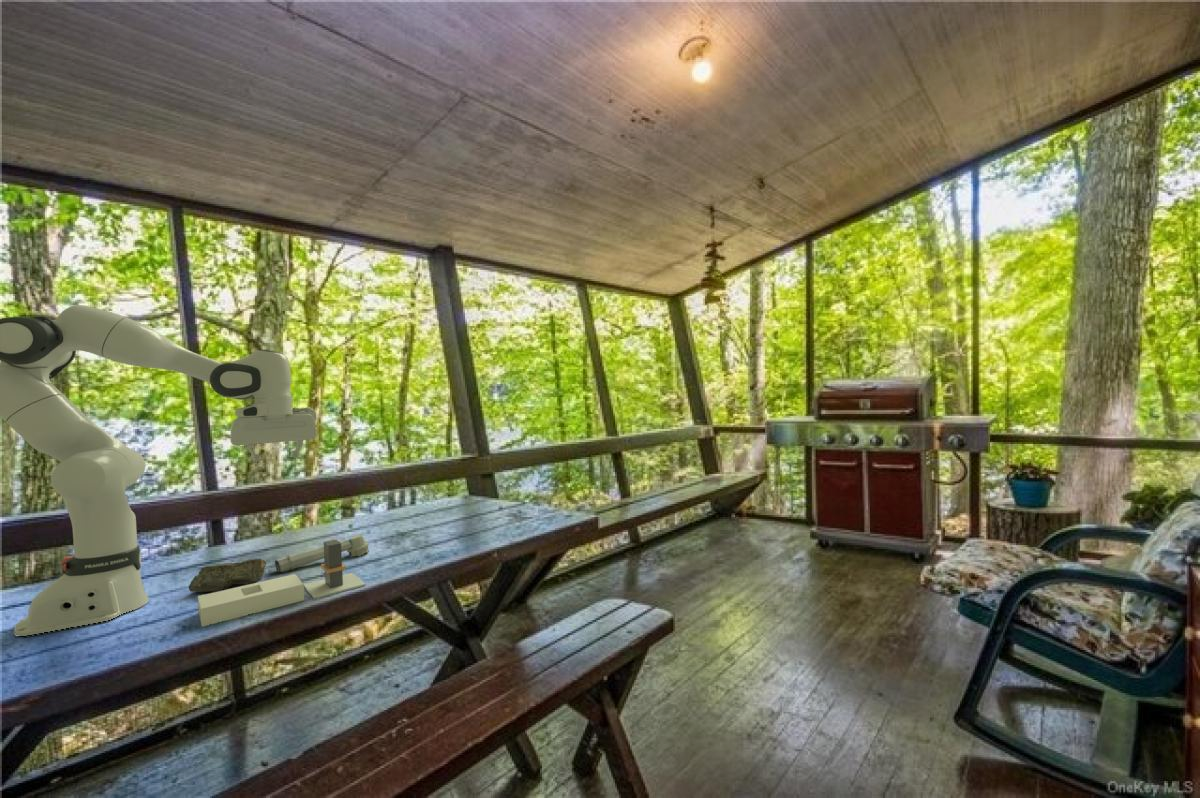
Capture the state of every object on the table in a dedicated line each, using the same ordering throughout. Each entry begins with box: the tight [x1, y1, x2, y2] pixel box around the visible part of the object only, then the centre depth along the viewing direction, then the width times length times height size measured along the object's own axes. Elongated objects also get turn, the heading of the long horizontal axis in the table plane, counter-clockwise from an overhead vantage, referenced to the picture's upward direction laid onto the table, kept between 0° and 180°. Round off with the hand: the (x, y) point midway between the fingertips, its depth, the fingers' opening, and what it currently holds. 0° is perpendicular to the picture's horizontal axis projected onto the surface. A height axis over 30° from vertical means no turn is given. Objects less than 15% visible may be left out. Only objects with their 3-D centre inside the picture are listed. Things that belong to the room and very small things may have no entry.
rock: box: [188, 558, 267, 593], centre depth 139 cm, size 17×7×10 cm
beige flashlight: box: [274, 534, 370, 574], centre depth 157 cm, size 5×7×25 cm
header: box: [197, 573, 305, 628], centre depth 124 cm, size 20×10×4 cm, turn 131°
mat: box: [303, 572, 367, 600], centre depth 136 cm, size 12×12×1 cm
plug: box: [320, 539, 347, 588], centre depth 136 cm, size 4×6×11 cm
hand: (276, 458), depth 143 cm, fingers open, 8 cm apart
